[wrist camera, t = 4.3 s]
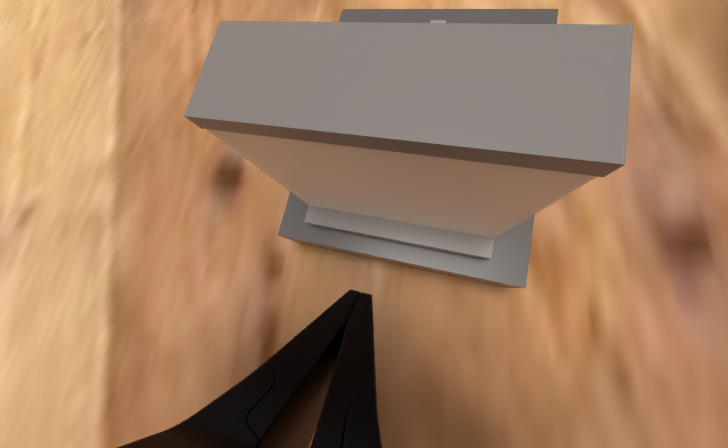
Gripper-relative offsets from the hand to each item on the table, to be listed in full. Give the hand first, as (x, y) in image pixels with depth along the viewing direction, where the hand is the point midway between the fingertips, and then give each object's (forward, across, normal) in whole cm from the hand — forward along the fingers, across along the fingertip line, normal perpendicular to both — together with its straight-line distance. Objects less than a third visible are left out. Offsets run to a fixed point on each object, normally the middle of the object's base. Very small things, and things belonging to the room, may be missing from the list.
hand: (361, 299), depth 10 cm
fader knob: (+7, 0, 0) cm, 7 cm away
